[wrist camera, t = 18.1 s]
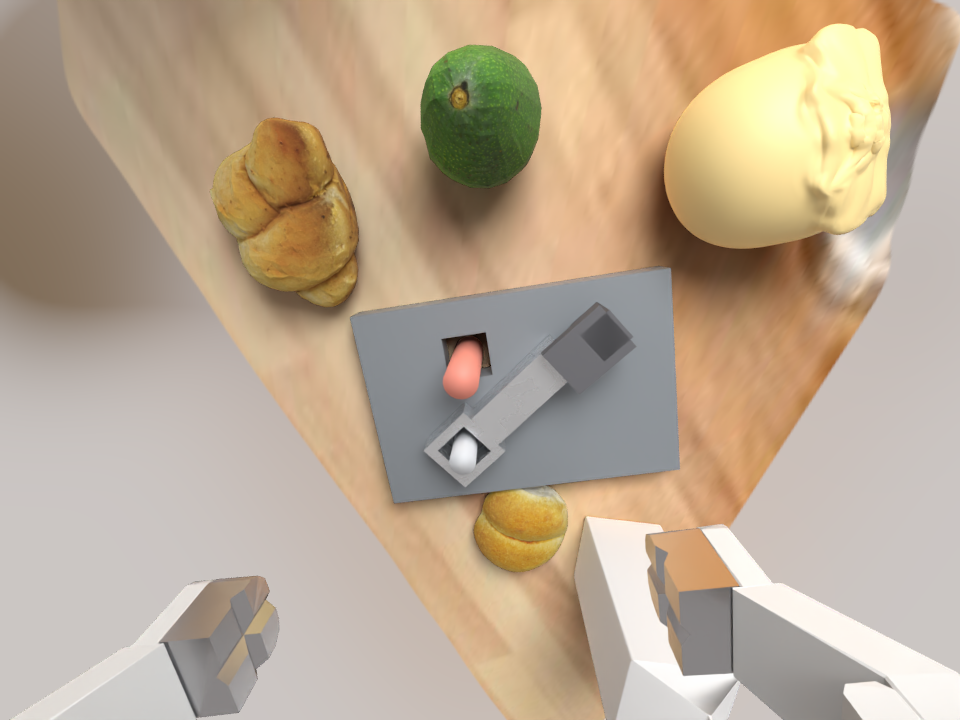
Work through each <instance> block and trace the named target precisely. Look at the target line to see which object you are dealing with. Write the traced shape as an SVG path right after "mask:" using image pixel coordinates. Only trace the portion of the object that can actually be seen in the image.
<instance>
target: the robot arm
mask: <svg viewBox="0 0 960 720" xmlns="http://www.w3.org/2000/svg"><path fill="white" fill-rule="evenodd" d="M645 548H646V553H647V555H648V557H649V559H650V562H651V565H650V566H649V568H648V569H647V575H648V584H649V589H650V594H651V599H652V602H653V605H654V608H655V611H656V613H657V616H658V618H659V621H660V622H661V623H662V624H664V625H665V626H666V627H668V641H669V644H670V647H671V649H672V651H673V654H674V656H675V658H676V661H677V663H678V665H679V668H680V670H681V672H682V675H683V676H693V675H713V674H732V673H733V676H734V677H735V678H736V679H737V680H738V681H740V682H741V683H742V684H743V685H744V686H745V687H746V688H748V689H749V690H750V691H751V692H752V693H753V694H754V695H756V696H757V697H758V698H759V699H760V700H761V701H762V702H764V703H765V704H766V705H767V706H768V707H769V708H770V709H772V710H773V711H774V712H775V713H776V714H777V715H778V716H780V717H781V718H782V719H783V720H960V675H959V674H958V673H957V672H955V671H953V670H951V669H949V668H947V667H945V666H943V665H941V664H939V663H937V662H935V661H933V660H931V659H930V658H928V657H926V656H924V655H922V654H920V653H918V652H916V651H914V650H912V649H910V648H908V647H906V646H904V645H902V644H900V643H898V642H896V641H894V640H892V639H890V638H888V637H886V636H884V635H882V634H880V633H879V632H877V631H874V630H873V629H871V628H869V627H867V626H865V625H863V624H861V623H859V622H857V621H855V620H853V619H851V618H849V617H847V616H845V615H843V614H841V613H839V612H837V611H835V610H833V609H831V608H830V607H828V606H826V605H824V604H822V603H820V602H818V601H816V600H814V599H812V598H810V597H808V596H806V595H804V594H802V593H800V592H798V591H796V590H794V589H792V588H790V587H788V586H786V585H784V584H782V583H777V584H773V583H772V582H771V580H770V579H769V578H768V577H767V575H766V574H765V573H764V572H763V570H762V569H761V568H760V567H759V566H758V564H757V563H756V562H755V561H754V559H753V558H752V557H751V556H750V555H749V553H748V552H747V551H746V550H745V548H744V547H743V546H742V545H741V543H740V542H739V541H738V540H737V538H736V537H735V536H734V535H733V533H732V532H731V531H730V530H729V528H728V527H727V526H725V525H723V524H719V525H711V526H704V527H697V528H696V529H686V530H677V531H668V532H659V533H651V534H646V537H645ZM269 591H270V590H269V587H268V585H267V582H266V580H265V578H263V577H260V576H249V577H237V578H226V579H216V580H206V581H195V582H193V583H191V584H188V585H187V586H186V587H185V588H184V589H183V590H182V591H181V592H180V593H179V594H178V595H177V596H176V598H175V599H174V600H173V601H172V602H171V603H170V604H169V605H168V606H167V607H166V609H165V610H164V611H163V612H162V613H161V614H160V615H159V616H158V618H156V620H155V621H154V622H153V623H152V624H151V625H150V626H149V627H148V628H147V630H146V631H145V632H144V633H143V634H142V635H141V636H140V637H139V638H138V639H137V641H136V642H135V643H134V644H133V645H132V646H130V647H123V648H122V649H120V650H119V651H117V652H116V653H114V654H112V655H111V656H109V657H108V658H106V659H105V660H103V661H101V662H100V663H98V664H97V665H95V666H94V667H92V668H91V669H89V670H87V671H86V672H84V673H82V674H81V675H79V676H78V677H76V678H75V679H73V680H71V681H70V682H68V683H67V684H65V685H64V686H62V687H60V688H59V689H57V690H56V691H54V692H53V693H51V694H49V695H48V696H46V697H45V698H43V699H42V700H40V701H38V702H37V703H35V704H34V705H32V706H31V707H29V708H27V709H26V710H24V711H23V712H21V713H20V714H18V715H16V716H15V717H13V718H12V719H10V720H197V719H196V718H198V717H207V716H216V715H224V714H232V713H239V712H240V710H241V708H242V707H243V705H244V703H245V701H246V699H247V698H248V696H249V694H250V692H251V690H252V688H253V687H254V685H255V683H256V681H257V679H258V678H257V671H256V669H257V668H258V667H259V666H260V665H261V664H263V663H264V662H265V661H266V660H267V659H268V658H269V657H270V655H271V653H272V651H273V649H274V648H275V646H276V642H277V637H278V633H279V617H278V614H277V611H276V608H275V607H274V606H273V605H272V604H270V603H269V602H268V601H267V600H266V598H267V596H268V594H269Z"/></svg>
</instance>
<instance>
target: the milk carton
mask: <svg viewBox="0 0 960 720" xmlns="http://www.w3.org/2000/svg"><path fill="white" fill-rule="evenodd" d="M659 532H664V531H663V529H662V528H661V526H660V525H657V524H649V523H640V522H632V521H623V520H614V519H606V518H597V517H588V516H586V518H585V521H584V526H583V531H582V536H581V542H580V547H579V552H578V557H577V562H576V567H575V572H574V580H575V584H576V589H577V593H578V597H579V602H580V606H581V611H582V615H583V620H584V624H585V628H586V633H587V637H588V642H589V646H590V651H591V655H592V659H593V664H594V668H595V673H596V677H597V682H598V686H599V690H600V695H601V699H602V704H603V708H604V713H605V717H606V720H728V718H729V715H730V712H731V709H732V706H733V703H734V700H735V697H736V695H737V692H738V689H739V686H740V683H741V682H740V681H738V680H737V679H736V678H735V677H734V676H733V673H732V674H713V675H693V676H683V675H682V672H681V670H680V668H679V665H678V663H677V661H676V658H675V656H674V654H673V651H672V649H671V647H670V644H669V641H668V627H666V626H665V625H664V624H662V623H661V622H660V621H659V618H658V616H657V613H656V611H655V608H654V605H653V602H652V599H651V594H650V589H649V584H648V575H647V569H648V568H649V566H650V565H651V562H650V559H649V557H648V555H647V553H646V548H645V537H646V534H651V533H659Z"/></svg>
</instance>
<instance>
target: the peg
mask: <svg viewBox="0 0 960 720" xmlns="http://www.w3.org/2000/svg"><path fill="white" fill-rule="evenodd" d="M482 357H483V345H482V343H481V341H480V340H479V339H477V338H476V337H473V336H465V337H463V338H461V339H460V340H459V341H458V342H457V344H456V347H455V349H454V352H453V354H452V357H451V359H450V362H449V364H448V367H447V369H446V372H445V374H444V377H443V386H444V389H445V391H446V392H447V393H448V394H449V395H450V396H451V397H453V398H456V399H467V398H469V397H471V396H473V395H474V394H475V392H476V391H477V389H478V386H479V379H480V371H481V364H482Z"/></svg>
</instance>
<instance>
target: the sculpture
mask: <svg viewBox="0 0 960 720" xmlns="http://www.w3.org/2000/svg"><path fill="white" fill-rule="evenodd" d="M890 128H891V116H890V110H889V105H888V94H887V91H886V89H885V86H884V83H883V77H882V68H881V59H880V47H879V42H878V39H877V38H876V36H875V35H874V34H872V33H871V32H870V31H868V30H866V29H863V28H860V29H855V28H854V27H853V26H850V25H846V24H833V25H829V26H827V27H824V28H823V29H821V30H820V31H819V32H817V33H816V34H815V35H814V37H813V38H812V39H811V40H810V41H809V42H808V43H807V44H801V45H796V46H792V47H788V48H784V49H781V50H778V51H776V52H773V53H770V54H768V55H765V56H763V57H761V58H758V59H756V60H754V61H751V62H749V63H746V64H744V65H742V66H740V67H738V68H735V69H734V70H732V71H730V72H728V73H726V74H725V75H723V76H721V77H720V78H718V79H717V80H715V81H714V82H713V83H711V84H710V85H709V86H707V87H706V88H705V89H704V90H703V91H702V92H700V93H699V94H698V95H697V96H696V97H695V98H694V99H693V101H692V102H691V103H690V104H689V105H688V106H687V108H686V109H685V110H684V112H683V113H682V115H681V116H680V118H679V119H678V121H677V123H676V125H675V127H674V129H673V131H672V134H671V136H670V139H669V142H668V146H667V150H666V155H665V163H664V181H665V188H666V193H667V196H668V200H669V202H670V205H671V207H672V209H673V211H674V213H675V215H676V216H677V218H678V219H679V221H680V222H681V223H682V224H683V226H684V227H685V228H686V229H687V230H688V231H689V232H691V233H692V234H693V235H695V236H696V237H698V238H699V239H701V240H703V241H705V242H708V243H710V244H713V245H717V246H721V247H726V248H737V249H748V248H759V247H765V246H771V245H776V244H781V243H786V242H791V241H796V240H800V239H803V238H806V237H809V236H812V235H815V234H817V233H820V232H822V231H825V232H828V233H830V234H834V235H841V234H846V233H848V232H850V231H852V230H854V229H856V228H857V227H859V226H860V225H861V224H863V223H864V222H865V220H866V218H867V217H870V216H872V215H874V214H875V213H876V212H877V211H878V210H879V208H880V207H881V205H882V204H883V202H884V200H885V198H886V168H887V155H888V151H889V147H890Z"/></svg>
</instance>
